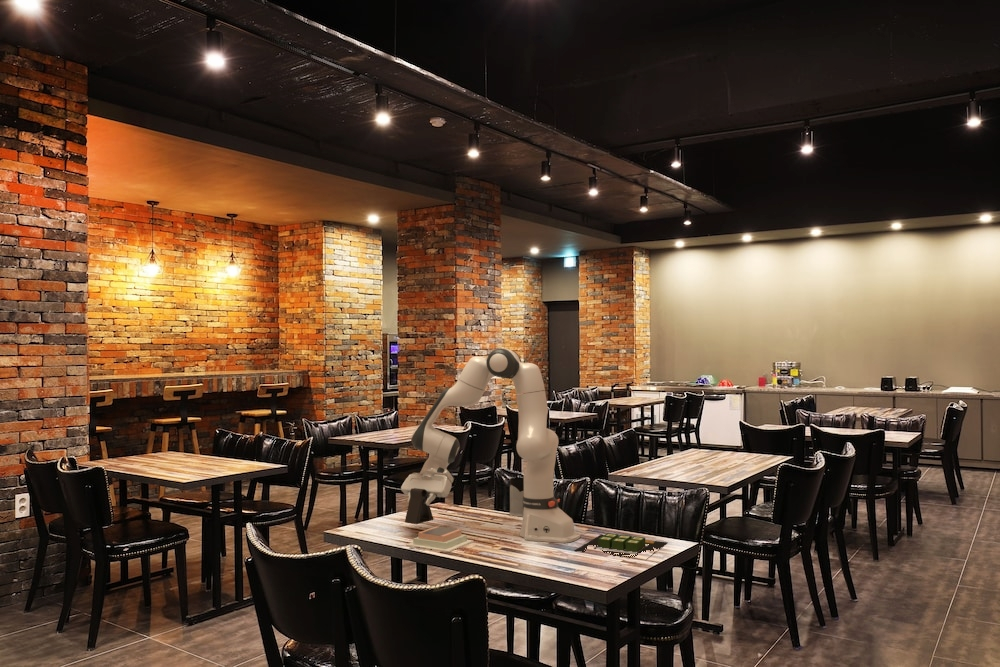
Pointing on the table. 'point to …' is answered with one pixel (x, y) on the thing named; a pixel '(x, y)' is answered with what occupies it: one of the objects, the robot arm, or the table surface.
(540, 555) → the table surface
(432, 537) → the base
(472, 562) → the table surface
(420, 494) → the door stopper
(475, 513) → the table surface
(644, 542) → the sushi
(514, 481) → the glass holder
